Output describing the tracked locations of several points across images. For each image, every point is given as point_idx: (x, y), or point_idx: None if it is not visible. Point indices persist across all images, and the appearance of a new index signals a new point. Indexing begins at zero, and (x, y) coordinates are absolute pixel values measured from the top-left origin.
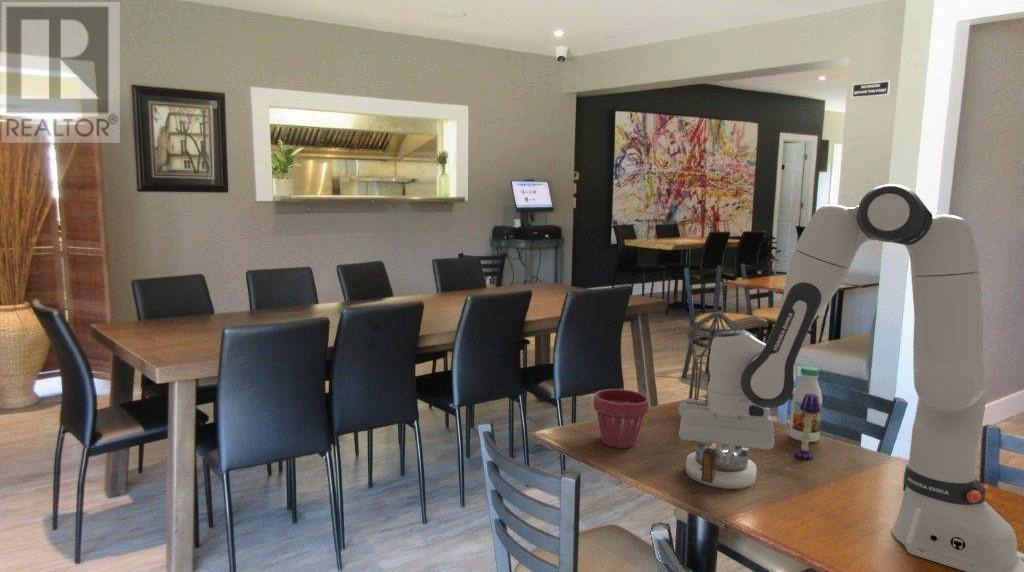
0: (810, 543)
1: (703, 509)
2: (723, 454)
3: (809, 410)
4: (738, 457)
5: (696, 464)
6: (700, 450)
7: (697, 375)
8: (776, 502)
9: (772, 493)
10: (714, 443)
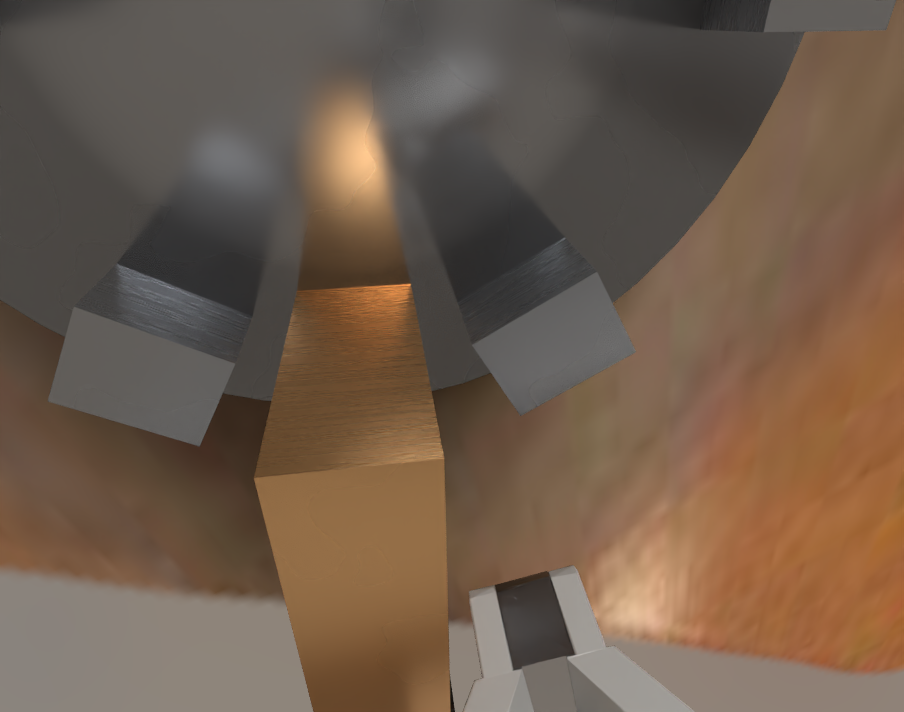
0: (884, 607)
1: None
2: (532, 689)
3: None
4: (658, 197)
5: None
6: (10, 266)
7: None
8: (831, 318)
9: (836, 171)
10: (349, 698)
